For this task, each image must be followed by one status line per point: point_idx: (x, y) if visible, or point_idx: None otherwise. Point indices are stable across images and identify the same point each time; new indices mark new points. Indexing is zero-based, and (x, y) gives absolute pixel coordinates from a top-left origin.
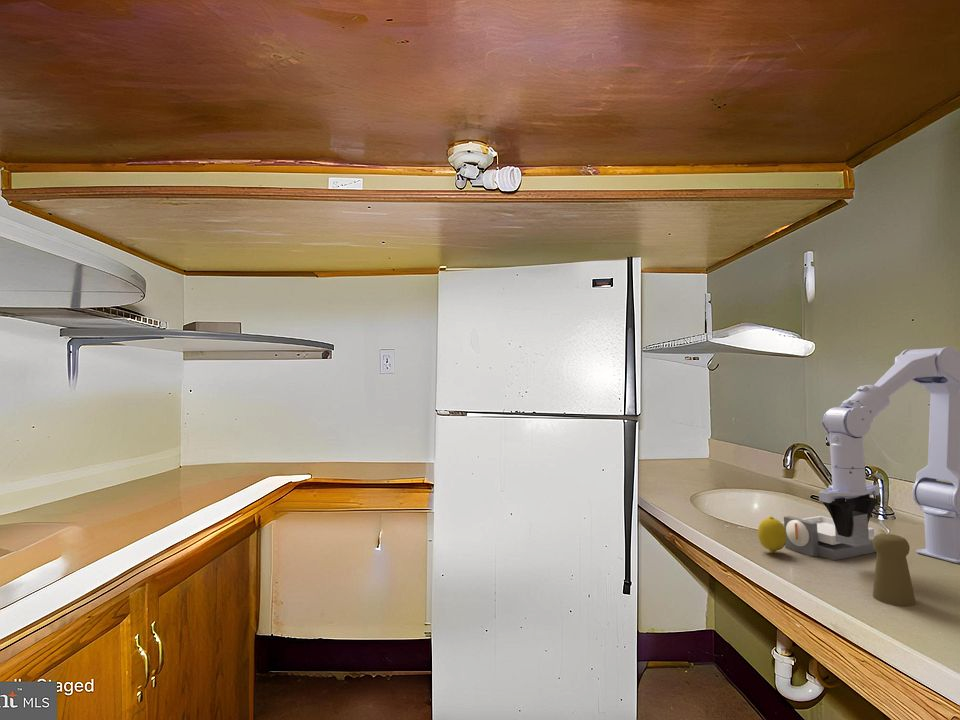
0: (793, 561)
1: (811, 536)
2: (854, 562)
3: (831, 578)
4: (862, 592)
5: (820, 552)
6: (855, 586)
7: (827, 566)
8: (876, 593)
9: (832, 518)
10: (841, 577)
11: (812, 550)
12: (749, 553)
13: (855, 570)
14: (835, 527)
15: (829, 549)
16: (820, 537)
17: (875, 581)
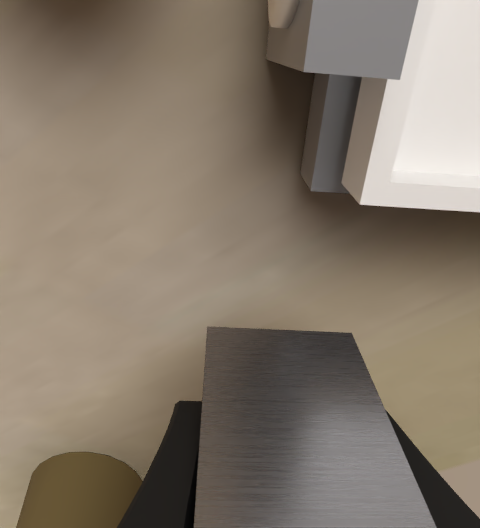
0: (66, 53)
1: (285, 55)
2: (357, 242)
3: (49, 318)
4: (40, 434)
5: (319, 81)
6: (67, 399)
7: (177, 215)
8: (26, 493)
9: (120, 522)
10: (102, 329)
11: (269, 56)
12: None
13: (242, 307)
14: (203, 410)
15: (318, 161)
16: (373, 79)
17: (20, 525)
